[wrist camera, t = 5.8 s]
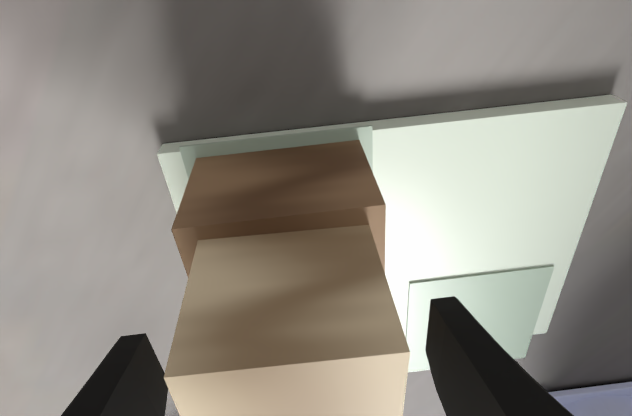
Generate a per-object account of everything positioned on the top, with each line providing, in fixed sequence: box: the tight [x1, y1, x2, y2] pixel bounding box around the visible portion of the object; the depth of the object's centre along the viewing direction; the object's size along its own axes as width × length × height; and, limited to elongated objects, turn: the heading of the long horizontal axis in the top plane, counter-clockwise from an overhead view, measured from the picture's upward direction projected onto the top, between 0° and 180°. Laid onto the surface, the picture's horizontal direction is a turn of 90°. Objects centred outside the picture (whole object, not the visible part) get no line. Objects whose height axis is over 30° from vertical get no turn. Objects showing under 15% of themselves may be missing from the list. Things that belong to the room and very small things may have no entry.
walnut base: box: [171, 140, 386, 278], centre depth 14 cm, size 6×6×4 cm
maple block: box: [164, 225, 410, 416], centre depth 10 cm, size 4×4×4 cm
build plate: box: [157, 95, 627, 372], centre depth 18 cm, size 16×14×1 cm
